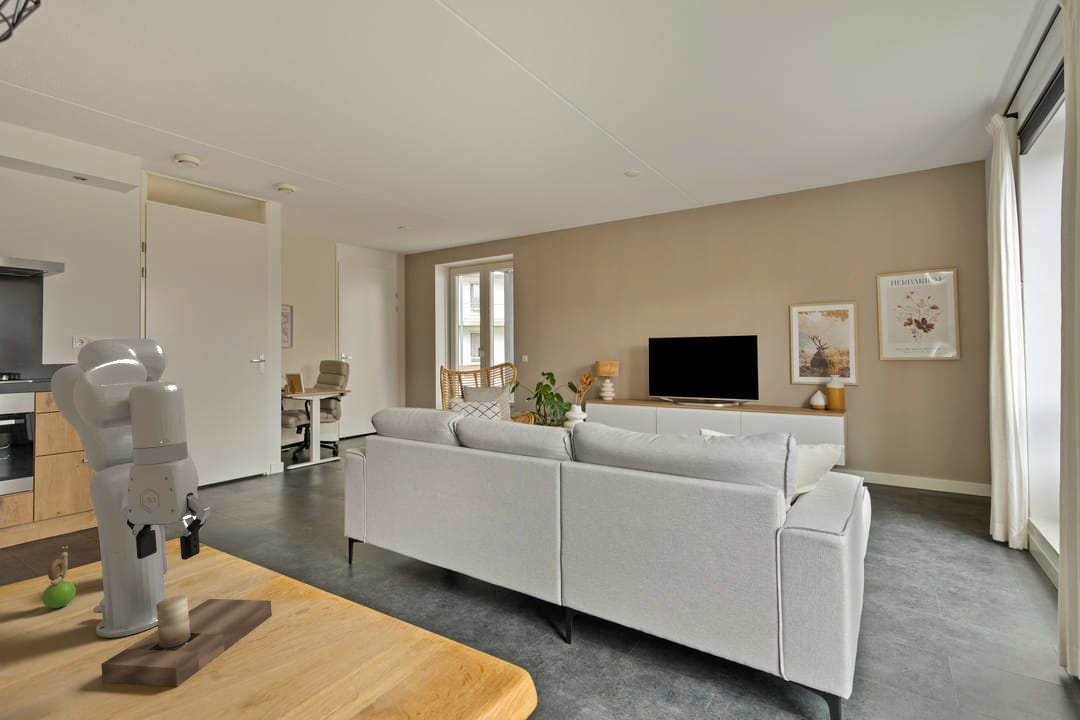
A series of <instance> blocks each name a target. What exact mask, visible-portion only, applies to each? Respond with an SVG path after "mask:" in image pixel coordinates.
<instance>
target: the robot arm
mask: <svg viewBox="0 0 1080 720" xmlns="http://www.w3.org/2000/svg"><path fill="white" fill-rule="evenodd" d="M77 362H78V363H75V364H71V365H67V366H64V367H62V368H59V369H57V370H56V371H55V372H54V373H53V375H52V377H51V379H50V389H51V395H52V399H53V401H54V405H55V407H56V408H57V410H58V411H59V413H60V414H61V416H62V417H63V418H64V419H65V420H66V422H67V423H69V425H70V426H71V428H73V429H74V430H75V431H76V433H77V435H78V438H79V440H80V444H81V446H82V449H83V451H84V454H85V457H86V459H87V462H88V464H89V466H90V468H91V469H92V471H94V472H96V474H94V475H93V476H92V478H91V479H90V482H89V485H88V489H89V496H90V501H91V504H92V507H93V511H94V515H95V518H96V523H97V524H96V525H97V531H98V537H99V546H100V547H99V548H100V549H99V550H100V561H101V572H102V574H101V575H102V587H103V598H102V599H101V600H100V601H99V605H95V606H94V607H93V610H92V611H93V613H94V614H101V615H102V617H101V618H102V620H101V621H100V622H98V624H97V625H96V626H95V627H96V628H95V631H96V636H99V637H101V638H108V639H112V638H120V637H121V638H122V637H125V636H131V635H135V634H137V633H141V632H144V631H147V630H149V629H153V628H154V627H156V626H157V627H158V621H157V609H156V605H157V604H158V603H159V602H160V601H162V600H164V599H166V589H165V577H164V575H165V574H164V573H163V560H162V547H161V534H160V529H159V526H158V525H164V526H169V525H170V526H172V525H176V526H177V527H178V529H179V530H180V531H181V533H182V535H181V536H180V537H179V544H180V546H179V547H180V559H181V560H183V561H185V560H188V559H191V558H193V557H195V556H196V555H199V554H200V552H201V548H200V536H199V532H200V531H201V530H202V529H203V526H204V525H205V524H206V522H207V518H208V517H209V515H210V513H211V512H212V511H211V507H210V506H208V505H207V504H206V503H204V502H203V501H202V500H200V499H199V495H198V487H199V475H198V471H197V469H196V466H195V463H194V461H193V459H192V457H191V454H190V453H189V451H188V439H187V427H186V414H185V413H186V411H185V410H186V409H185V401H184V400H185V399H184V398H185V396H184V389H183V387H182V386H181V384H180V383H177V382H170V381H167V380H161V377H162V376H163V374H164V372H165V369H166V367H167V366H166V365H167V355H166V351H165V350H164V347H163V346H162V345H161V344H160V343H159V342H158V341H157V340H155V339H151V338H142V337H141V338H104V339H97V340H93V341H91V342H90V341H89V342H88V343H87V344H85V345H83V346H82V348H80V349H79V352H78V355H77ZM187 521H188V523H189V525H188V523H187Z"/></svg>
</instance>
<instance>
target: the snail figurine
mask: <svg viewBox="0 0 1080 720" xmlns="http://www.w3.org/2000/svg"><path fill="white" fill-rule="evenodd" d="M68 548H69V546H62V547H61V548H60V549H61V550H64V549H65V550H68ZM68 553H69V552H68V551H66V552H65V551H62V552H61V553H60V556H59V558H56V559H54V560H53V561H51V562H50V563H49V566H48V569H47V576H48V579H49V580H50V585H49V586H47V587H46V589H45V590H44V591H43V593H42V596H41V601H42V603H43V605H45V606H46V607H47V608H49V609H59V608H63V607H65V606H67V605H69V604H70V603H71V602H72V601H73V600H74V598H75V597H76V594H77V589H76V586H75V584H73V583H72V582H70V581H67V580H64V579H65V577H66V576H67V572H68V566H69V565H68V563H69V562H68V561H69V560H68V558H69V554H68Z"/></svg>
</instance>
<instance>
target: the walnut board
mask: <svg viewBox="0 0 1080 720" xmlns="http://www.w3.org/2000/svg"><path fill="white" fill-rule="evenodd" d="M188 612H189V625H190V634H191V638H190V639H189V640H188V641H187V644H185V645H184V646H182V647H181V648H179V649H178V650H177V651H163V649H161V648H159V634H158V629H157V630H155V631H153V632H151V633H149V634H148V635H147V636H145V637H142V638H141V639H139V640H138V641H137V642H135V643H133V644H131V645H130V646H129V647H127V648H125V649H123V650H122V651H120V652H118V653H117V654H115V655H113V656H112V657H110V658H109V659H107V660H105V661H104V662H102V663H101V664H100V667H101V677H102V683H108V684H109V683H111V684H112V683H113V684H128V685H142V686H155V687H156V686H157V687H158V686H159V687H172V688H173V687H174V688H178V687H179V686H180V685H182V684H183V683H185V681H187V680H188V679H189V678H191V677H192V676H194V675H195V674H196V673H197V672H199V671H200V670H202V669H203V668H204V667H206V666H207V665H208V664H209V663H211V662H212V661H213V660H215V659H216V658H218V657H219V656H220V655H221V654H223V653H224V652H225V651H227V650H228V649H229V648H231V647H232V646H233V645H235V644H236V643H238V642H239V641H240V640H242V638H245V636H247V635H248V634H250V632H252V631H253V630H255V629H256V628H257V627H259V626H260V625H262V624H263V623H264V622H265V621H267V620H268V619H270V617H272V615H273V614H272V601H271V600H265V599H263V600H262V599H261V600H260V599H234V598H233V599H232V598H231V599H230V598H229V599H228V598H226V599H225V598H222V599H221V598H208V599H206V600H205V601H202V603H200V604H198V605H196V606H195V607H193V608H192V609H190V610H188Z"/></svg>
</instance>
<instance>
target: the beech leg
mask: <svg viewBox="0 0 1080 720" xmlns="http://www.w3.org/2000/svg"><path fill="white" fill-rule="evenodd" d="M188 600H189V599H188V596H187V595H174V596H171V597H167V598H165V599H164V600H162V601H160V602H159V603H158V604H157V605H156V609H157V621H158V625H157V630H158V634H159V648H161V649H163V651H177V650H178V649H179V648H181V647H182V646H184V645H185V644H187V641H188V640H189V639H190V638H191V634H190V625H189V612H188V611H189V603H188Z"/></svg>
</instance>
